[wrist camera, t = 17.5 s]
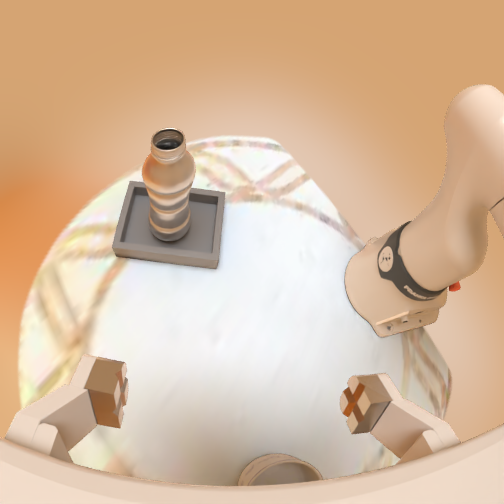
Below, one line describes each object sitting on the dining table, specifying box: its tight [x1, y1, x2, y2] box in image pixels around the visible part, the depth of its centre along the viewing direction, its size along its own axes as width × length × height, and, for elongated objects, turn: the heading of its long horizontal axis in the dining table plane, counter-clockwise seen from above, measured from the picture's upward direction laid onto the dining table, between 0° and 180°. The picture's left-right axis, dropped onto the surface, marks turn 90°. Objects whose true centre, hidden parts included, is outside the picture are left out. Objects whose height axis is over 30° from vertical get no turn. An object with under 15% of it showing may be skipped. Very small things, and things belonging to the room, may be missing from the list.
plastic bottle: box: [142, 128, 196, 241], centre depth 39 cm, size 6×7×20 cm
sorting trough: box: [112, 181, 225, 269], centre depth 48 cm, size 16×12×4 cm
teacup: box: [238, 454, 323, 486], centre depth 32 cm, size 14×11×8 cm
